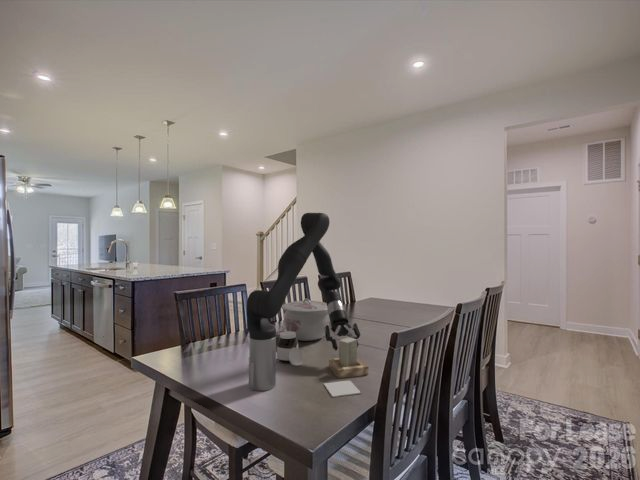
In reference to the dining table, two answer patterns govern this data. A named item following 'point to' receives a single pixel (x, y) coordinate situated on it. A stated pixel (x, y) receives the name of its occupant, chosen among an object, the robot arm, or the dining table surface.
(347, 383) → the mat
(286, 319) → the chamber pot
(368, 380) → the dining table surface
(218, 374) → the dining table surface
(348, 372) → the holder collar
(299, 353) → the spread jar
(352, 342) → the skincare box
